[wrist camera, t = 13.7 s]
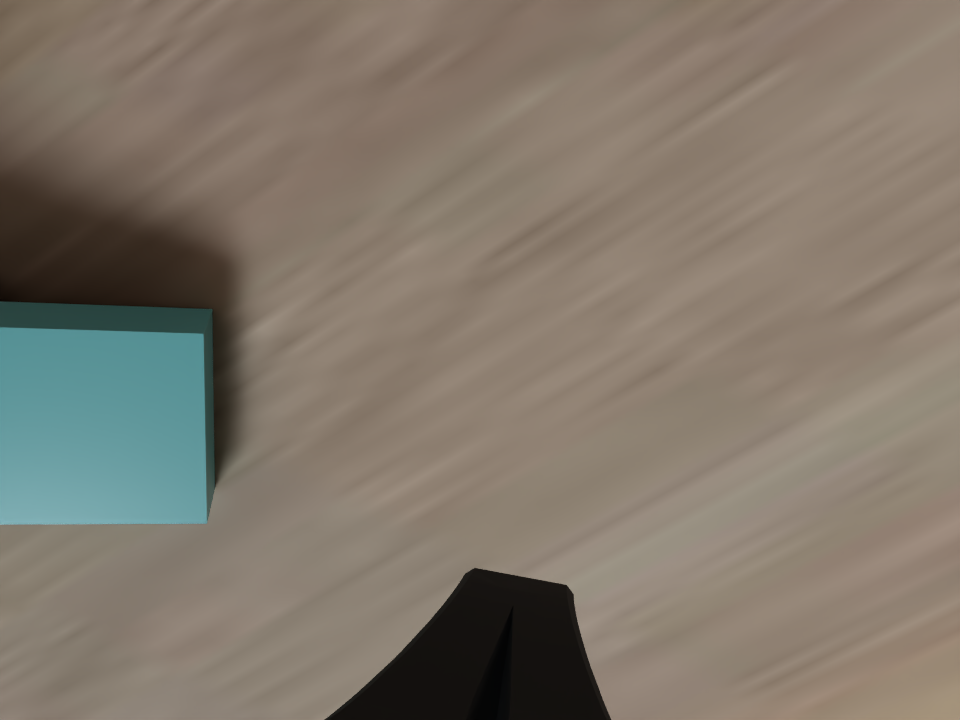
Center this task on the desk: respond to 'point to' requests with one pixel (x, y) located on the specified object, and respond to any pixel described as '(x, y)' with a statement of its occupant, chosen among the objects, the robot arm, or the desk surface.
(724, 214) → the desk surface
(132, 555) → the desk surface
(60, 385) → the domino
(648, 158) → the desk surface
